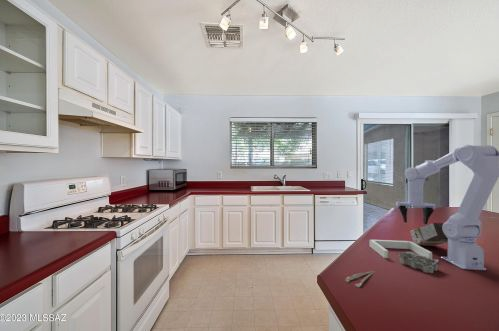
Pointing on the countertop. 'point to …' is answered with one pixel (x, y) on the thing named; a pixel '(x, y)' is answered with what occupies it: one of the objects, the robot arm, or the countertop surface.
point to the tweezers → (357, 277)
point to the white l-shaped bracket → (382, 244)
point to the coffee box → (429, 235)
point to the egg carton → (418, 261)
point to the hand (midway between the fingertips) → (415, 222)
